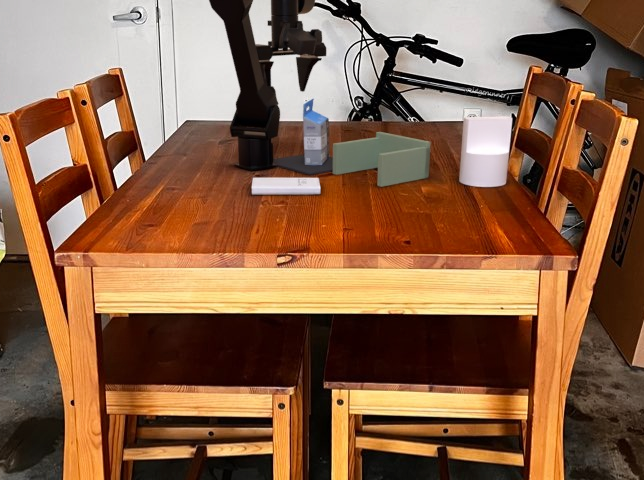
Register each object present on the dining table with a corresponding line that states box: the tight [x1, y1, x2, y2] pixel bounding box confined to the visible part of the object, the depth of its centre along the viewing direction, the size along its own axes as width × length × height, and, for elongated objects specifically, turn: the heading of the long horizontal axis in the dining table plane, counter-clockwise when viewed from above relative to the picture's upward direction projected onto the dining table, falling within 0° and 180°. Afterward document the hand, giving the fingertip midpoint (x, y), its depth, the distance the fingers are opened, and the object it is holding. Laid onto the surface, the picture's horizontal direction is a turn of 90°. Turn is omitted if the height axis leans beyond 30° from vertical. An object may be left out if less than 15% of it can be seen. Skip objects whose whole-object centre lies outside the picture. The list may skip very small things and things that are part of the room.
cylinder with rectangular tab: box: [458, 115, 513, 188], centre depth 155 cm, size 9×9×12 cm
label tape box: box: [302, 98, 330, 165], centre depth 170 cm, size 9×4×12 cm, turn 168°
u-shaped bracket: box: [332, 131, 432, 188], centre depth 161 cm, size 13×14×7 cm
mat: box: [272, 154, 333, 176], centre depth 172 cm, size 14×16×1 cm
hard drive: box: [251, 177, 321, 196], centre depth 151 cm, size 2×8×12 cm
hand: (285, 93), depth 178 cm, fingers open, 9 cm apart
